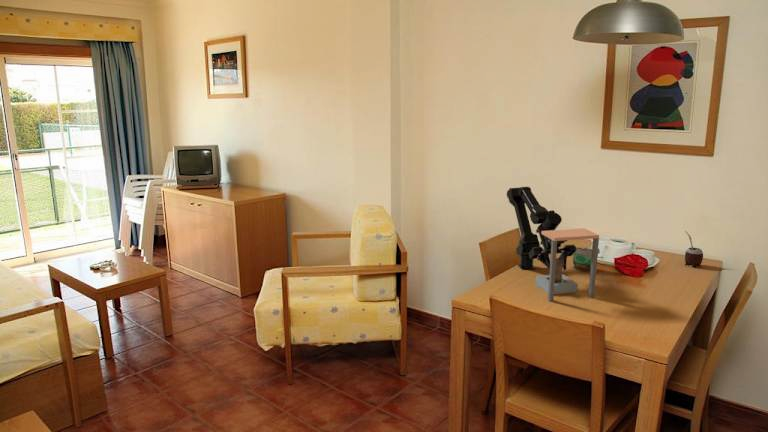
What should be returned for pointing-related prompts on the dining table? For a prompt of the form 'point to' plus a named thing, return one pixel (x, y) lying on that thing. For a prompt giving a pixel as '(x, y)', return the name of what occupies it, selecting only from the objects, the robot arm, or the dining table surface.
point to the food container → (583, 259)
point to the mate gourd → (693, 255)
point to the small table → (549, 280)
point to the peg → (558, 270)
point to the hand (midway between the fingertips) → (558, 270)
